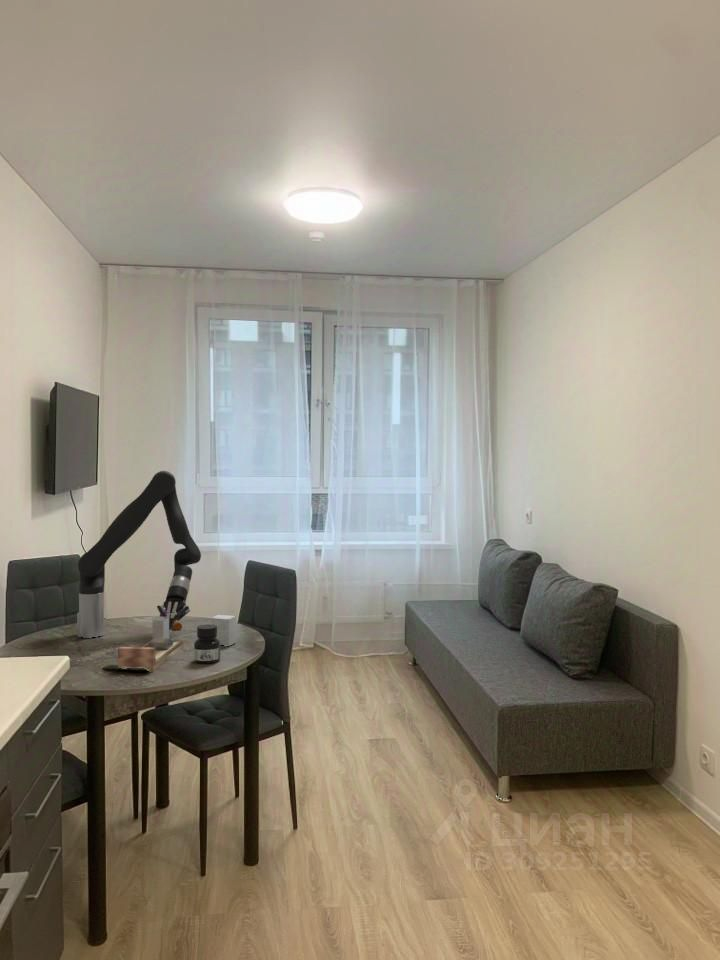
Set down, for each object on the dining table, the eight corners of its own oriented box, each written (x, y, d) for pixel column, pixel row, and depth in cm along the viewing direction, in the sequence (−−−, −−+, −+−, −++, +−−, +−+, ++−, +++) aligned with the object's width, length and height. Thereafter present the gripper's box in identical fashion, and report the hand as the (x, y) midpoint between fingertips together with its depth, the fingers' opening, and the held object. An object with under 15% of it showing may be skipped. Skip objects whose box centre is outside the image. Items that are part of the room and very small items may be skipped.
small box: (236, 643, 273) (236, 615, 273) (229, 647, 268) (229, 619, 267) (218, 641, 276) (218, 614, 275) (210, 645, 270) (210, 617, 270)
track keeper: (148, 648, 258) (148, 620, 258) (154, 644, 264) (154, 616, 264) (167, 649, 258) (167, 620, 257) (173, 644, 264) (173, 616, 263)
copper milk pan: (118, 670, 238) (117, 648, 237) (152, 645, 269) (152, 625, 269) (153, 671, 237) (153, 649, 236) (184, 646, 269) (184, 626, 268)
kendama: (169, 622, 291) (157, 609, 308) (172, 635, 292) (159, 622, 309) (183, 617, 294) (170, 605, 311) (186, 631, 295) (173, 618, 312)
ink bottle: (190, 664, 245) (190, 629, 245) (196, 657, 254) (196, 623, 254) (218, 664, 245) (218, 629, 245) (223, 657, 254) (223, 623, 254)
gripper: (159, 584, 278) (148, 623, 266) (193, 584, 277) (183, 623, 265) (164, 595, 284) (153, 633, 272) (197, 595, 283) (187, 634, 271)
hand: (168, 628), depth 269 cm, fingers closed
